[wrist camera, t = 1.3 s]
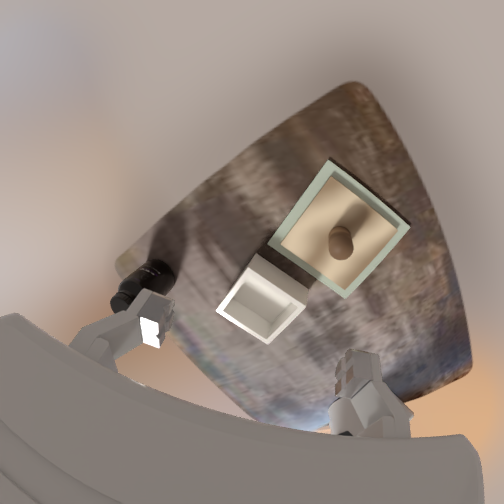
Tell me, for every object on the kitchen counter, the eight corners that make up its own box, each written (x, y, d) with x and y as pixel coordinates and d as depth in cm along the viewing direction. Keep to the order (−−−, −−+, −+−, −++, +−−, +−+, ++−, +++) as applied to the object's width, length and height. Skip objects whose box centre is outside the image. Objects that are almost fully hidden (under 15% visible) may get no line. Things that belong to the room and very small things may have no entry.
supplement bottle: (164, 253, 47) (124, 287, 36) (182, 286, 49) (147, 326, 38) (138, 263, 49) (98, 295, 39) (155, 293, 51) (120, 330, 41)
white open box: (308, 288, 43) (306, 306, 38) (273, 325, 47) (267, 344, 43) (256, 252, 43) (247, 267, 38) (226, 294, 47) (215, 311, 43)
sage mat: (409, 226, 35) (410, 227, 34) (345, 297, 42) (345, 299, 41) (328, 159, 34) (328, 159, 34) (267, 242, 41) (267, 243, 41)
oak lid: (396, 228, 35) (405, 241, 31) (344, 287, 40) (345, 305, 36) (330, 175, 34) (332, 180, 30) (281, 242, 40) (275, 255, 36)
